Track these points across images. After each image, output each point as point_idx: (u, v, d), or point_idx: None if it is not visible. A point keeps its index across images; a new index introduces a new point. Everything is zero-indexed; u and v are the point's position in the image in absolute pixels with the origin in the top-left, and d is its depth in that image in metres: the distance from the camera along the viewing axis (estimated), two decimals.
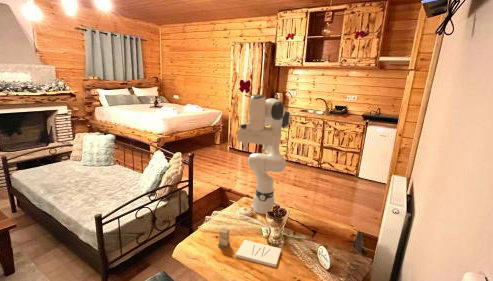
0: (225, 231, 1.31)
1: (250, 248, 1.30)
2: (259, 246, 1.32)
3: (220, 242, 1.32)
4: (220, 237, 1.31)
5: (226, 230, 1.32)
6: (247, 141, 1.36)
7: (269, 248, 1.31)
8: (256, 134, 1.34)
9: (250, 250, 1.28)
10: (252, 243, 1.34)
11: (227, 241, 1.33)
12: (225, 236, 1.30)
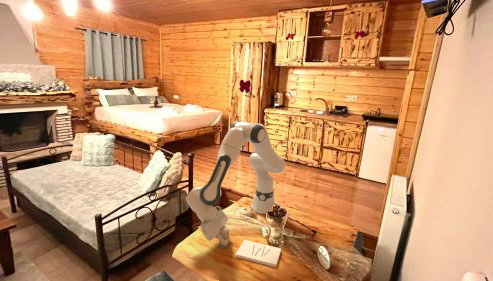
0: (225, 231, 1.31)
1: (250, 248, 1.30)
2: (259, 246, 1.32)
3: (220, 242, 1.32)
4: None
5: (226, 230, 1.32)
6: None
7: (269, 248, 1.31)
8: None
9: (250, 250, 1.28)
10: (252, 243, 1.34)
11: (227, 241, 1.33)
12: (225, 236, 1.30)
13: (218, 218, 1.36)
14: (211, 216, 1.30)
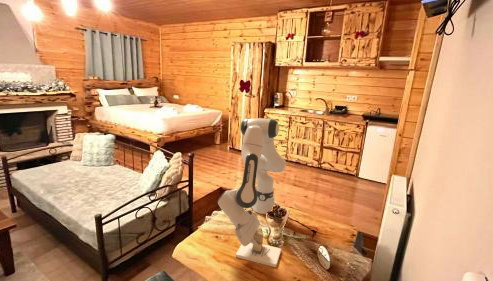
0: (259, 235, 1.25)
1: (250, 248, 1.30)
2: None
3: (254, 247, 1.26)
4: None
5: (260, 234, 1.26)
6: None
7: (269, 248, 1.31)
8: None
9: (250, 250, 1.28)
10: None
11: (261, 246, 1.27)
12: (259, 241, 1.25)
13: (251, 222, 1.30)
14: (245, 220, 1.24)
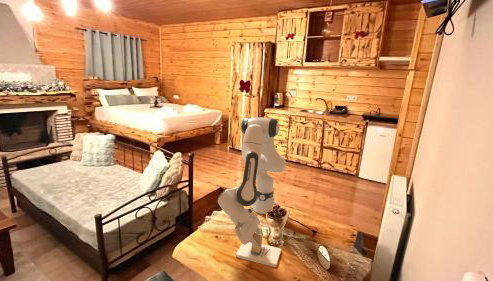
0: (258, 237, 1.24)
1: (250, 248, 1.30)
2: None
3: (253, 248, 1.25)
4: None
5: (259, 236, 1.25)
6: None
7: (269, 248, 1.31)
8: None
9: (250, 250, 1.28)
10: None
11: (260, 247, 1.26)
12: (258, 242, 1.24)
13: (251, 221, 1.30)
14: (245, 219, 1.24)
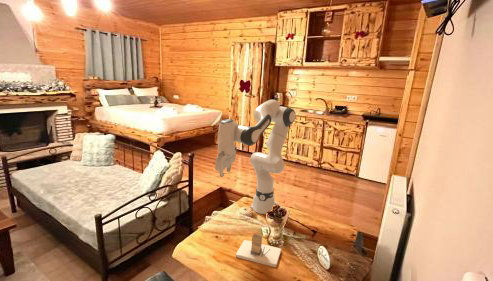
0: (258, 237, 1.24)
1: (250, 248, 1.30)
2: None
3: (253, 249, 1.25)
4: (253, 243, 1.25)
5: (259, 236, 1.25)
6: None
7: (269, 248, 1.31)
8: None
9: (250, 250, 1.28)
10: None
11: (260, 248, 1.26)
12: (258, 243, 1.24)
13: (230, 156, 1.41)
14: (229, 153, 1.35)
